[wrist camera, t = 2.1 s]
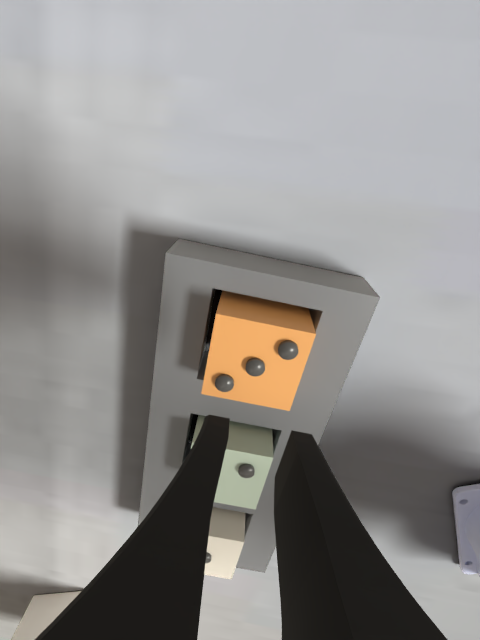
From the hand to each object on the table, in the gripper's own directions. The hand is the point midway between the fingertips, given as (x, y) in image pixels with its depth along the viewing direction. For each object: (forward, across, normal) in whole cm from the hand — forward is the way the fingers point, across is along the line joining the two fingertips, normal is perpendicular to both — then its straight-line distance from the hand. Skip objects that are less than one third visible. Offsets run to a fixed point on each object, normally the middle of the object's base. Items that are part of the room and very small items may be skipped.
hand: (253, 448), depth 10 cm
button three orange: (+8, 0, 0) cm, 8 cm away
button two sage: (+7, 0, +7) cm, 10 cm away
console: (+8, 0, +7) cm, 11 cm away
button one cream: (+8, 0, +14) cm, 16 cm away
